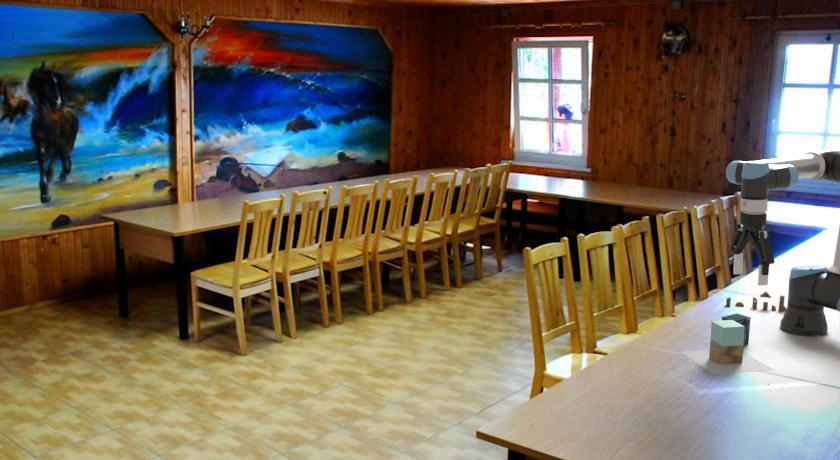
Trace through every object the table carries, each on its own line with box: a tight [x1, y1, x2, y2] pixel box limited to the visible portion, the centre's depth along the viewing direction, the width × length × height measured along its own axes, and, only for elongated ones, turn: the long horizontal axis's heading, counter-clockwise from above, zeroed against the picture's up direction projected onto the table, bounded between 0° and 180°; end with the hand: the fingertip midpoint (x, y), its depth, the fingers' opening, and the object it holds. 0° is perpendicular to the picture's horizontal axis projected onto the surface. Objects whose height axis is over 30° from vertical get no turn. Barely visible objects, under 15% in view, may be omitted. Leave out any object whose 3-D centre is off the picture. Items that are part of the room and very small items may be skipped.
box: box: [721, 313, 751, 346], centre depth 268 cm, size 8×6×11 cm
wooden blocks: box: [725, 291, 787, 312], centre depth 312 cm, size 30×3×7 cm, turn 68°
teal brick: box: [709, 319, 745, 347], centre depth 251 cm, size 7×7×6 cm
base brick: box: [709, 339, 745, 364], centre depth 252 cm, size 8×6×6 cm
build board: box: [680, 349, 775, 375], centre depth 253 cm, size 20×20×1 cm
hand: (749, 279), depth 251 cm, fingers open, 13 cm apart
